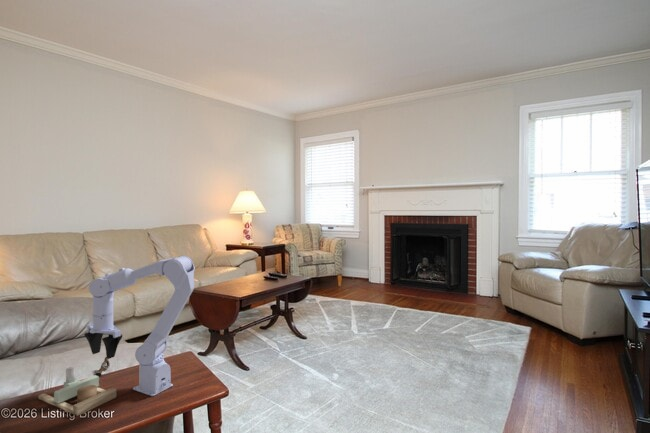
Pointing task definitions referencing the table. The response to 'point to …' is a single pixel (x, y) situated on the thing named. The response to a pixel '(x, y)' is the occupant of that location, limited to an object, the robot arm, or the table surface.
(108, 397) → the frame
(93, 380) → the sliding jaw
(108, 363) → the brown figurine
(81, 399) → the walnut puck
